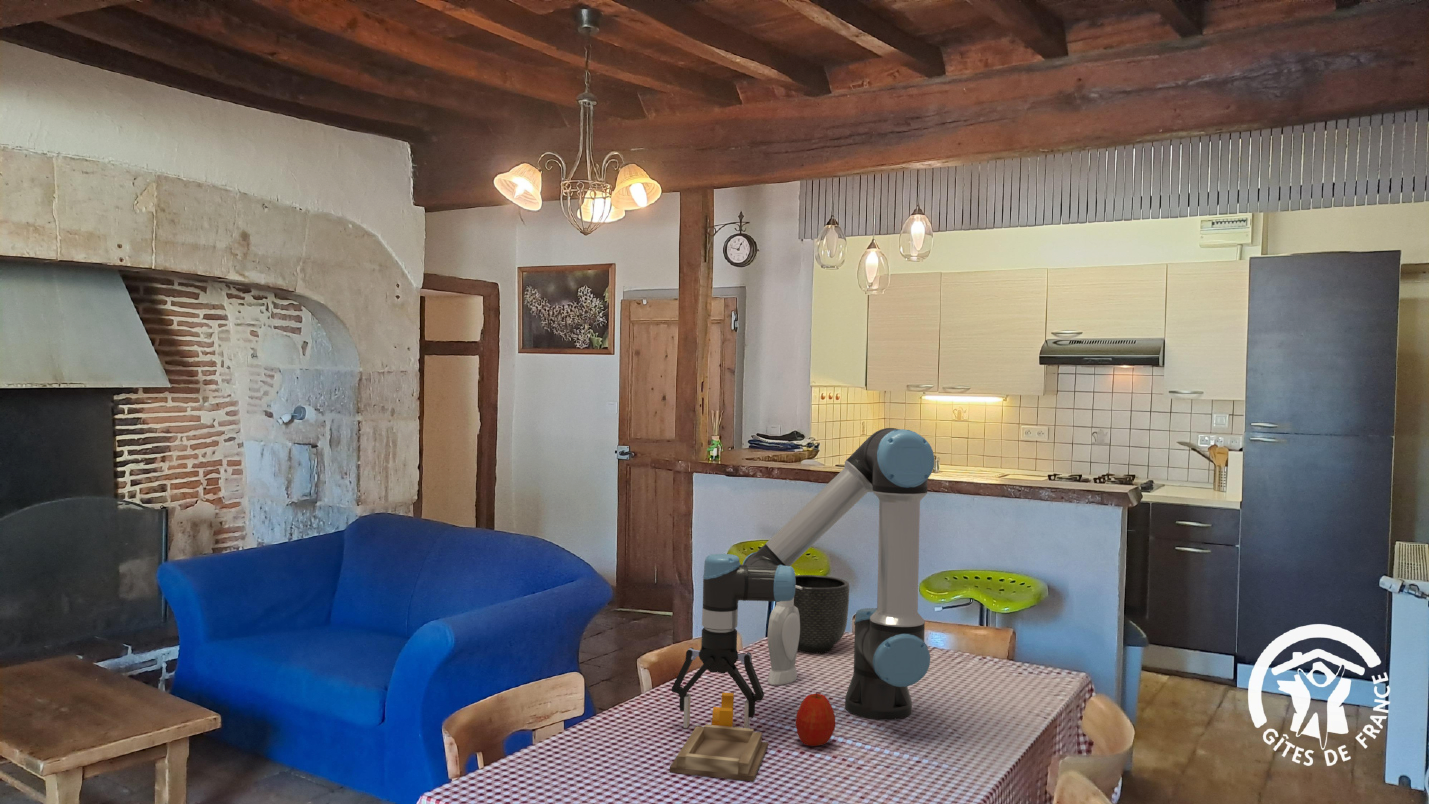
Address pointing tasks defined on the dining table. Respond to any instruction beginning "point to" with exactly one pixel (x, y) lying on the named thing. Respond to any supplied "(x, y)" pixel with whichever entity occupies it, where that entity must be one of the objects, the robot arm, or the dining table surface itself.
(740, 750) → the tray
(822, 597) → the planter
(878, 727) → the dining table surface
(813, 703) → the apple
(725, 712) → the orange stepped block
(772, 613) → the soap bottle
